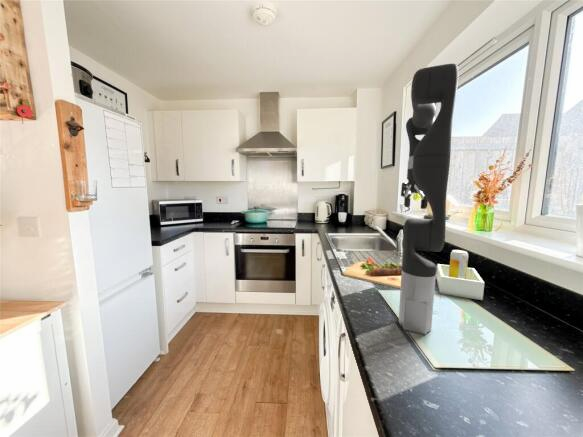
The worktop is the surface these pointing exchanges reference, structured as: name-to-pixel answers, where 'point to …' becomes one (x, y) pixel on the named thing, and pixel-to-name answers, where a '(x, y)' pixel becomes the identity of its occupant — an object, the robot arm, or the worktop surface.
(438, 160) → the robot arm
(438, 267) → the bin
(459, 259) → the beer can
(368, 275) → the cutting board
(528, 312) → the worktop surface
